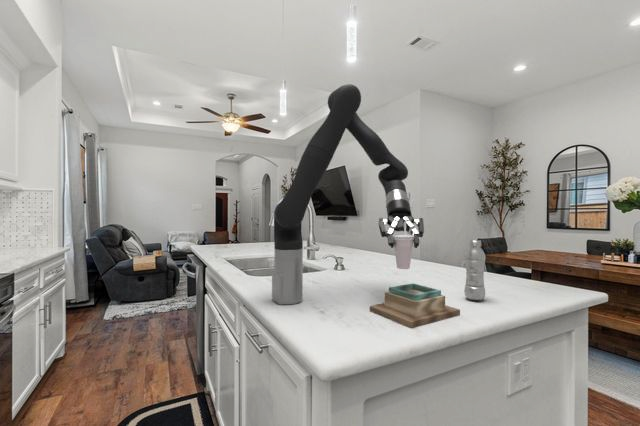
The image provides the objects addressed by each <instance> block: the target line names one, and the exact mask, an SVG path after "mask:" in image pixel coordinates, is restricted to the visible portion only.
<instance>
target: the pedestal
mask: <svg viewBox="0 0 640 426" xmlns="http://www.w3.org/2000/svg"><path fill="white" fill-rule="evenodd" d="M369 312H371V313H374V314H376V315H377V316H378V315H379V316H381V317H383V318H386V319H387V320H390V321H393V322H395V323H398V324H400V325H403V326H405V327H407V328H410V329H413V328H416V327H421V326H425V325H428V324H431V323H434V322H439V321H442V320H443V321H444V320H447V319H449V318H453V317H458V316H460V315H461V309H460V308H456V307H453V306H450V305H446V295H443V294H442V290H440V289H437V288H432V287H428V286H425V285H420V284H417V283H406V284H401V285H396V286H395V285H394V286H388V291H385V292H384V302H383V303H379V304H372V305H370V306H369Z"/></svg>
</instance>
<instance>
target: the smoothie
mask: <svg viewBox="0 0 640 426" xmlns="http://www.w3.org/2000/svg"><path fill="white" fill-rule="evenodd" d="M393 239H394V247H393V248H394V253H395V256H394V257H395V261H396V262H395V263H396V268H397V269H400V270H408V269H411V259H412V254H413V253H412V251H413V246H414V243H413V240H414V236H412V235H409V234H407V231H406V221H404V231H403V234H393Z"/></svg>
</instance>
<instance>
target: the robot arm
mask: <svg viewBox="0 0 640 426" xmlns="http://www.w3.org/2000/svg"><path fill="white" fill-rule="evenodd" d="M361 103H362V94H361V91H360V89H359V88H358V87H357V86H356V85H354V84H350V83H349V84H347V83H346V84H344V85H341V86H340V87H338V88H336V89H334V90H333V91H332V92H331V93H330V94H329V96H328V98H327V106H328V109H329V112H328V115H327V116H326V118H325V120H324V121H323V122H322V124H321V125H320V127H319V128H317V129H318V130H316V132H315V133H314V134H313V136H312V137H311V139H310V140H309V142H308V143H307V145H306V147H305V149H304V151H303V153H302V154H301V157H300V160H299V163H298V165H297V168H296V171H295V176H294V178H293V180H292V183H291V185H290V187H288V188H289V189H288V190H287V192H286V194H285V195H284V196H283V198H282V199H281V201H280V202H278V204H277V205H276V206H275V208H274V211H273V212H274V213H273V242H274V271H272V272H271V300H272V302H274V303H276V304H278V305H279V306H281V305H297V304H299V303H301V302H302V301H303V297H304V296H303V288H304V287H303V281H304V280H303V279H304V278H303V272H304V271H303V267H304V265H303V264H304V263H303V261H304V260H303V255H304V253H303V252H304V248H303V246H304V245H303V236H302V233H303V232H302V222H303V220H304V218H305V214H306V211H307V209H308V206H309V203H310V202H311V201H310V200H311V198H312V196H313V194H314V191H315V190H316V188H317V187H318V185H319V183H321V180H322V178H324V175H325V173H326V172H327V170H328V167H329V166H330V164H331V161H332V159H333V157H334V155H335V154H336V150H337V148H338V146H339V144H340V142H341V140H342V138H343V135H344V133H345V131H346V130H347V131H348V132H349V133H350V134H351V136H352V137H354V139H355V141H357V142H358V144H359V145H360V146H361V148H362V149H363V150H364V152H365V154H366V155H367V156H368V158H369V160H370V161H371V162H372V164H373V165H374V166H382V165H388V166H386V167H384V168H383V169H381V170H380V171H379V173H378V180H379V182H380V185H382V187H383V190H384V192H385V208H386V215H387V218H386V219H385V218H383V217H379V218H378V228H379V232H380V236H381V237H382V238H387V244H388V246H389V247H390V249H391V248H392V249H393V248H394V239H393V235H395V233H396V232H404V221H406V234H407V235H412V236H414V240H413V248H414V249H417V248H418V247H419V246H420V242H421V241H420V238H422V237H423V236H424V232H425V226H424V218H423V217H419V218H418V219H415V217H413V215H412V211H411V210H412V209H411V205H410V200H409V197H408V193H407V189H406V185H405V183H404V182H403V181H404V180H405V179H407V178H408V175H409V171H408V168H407V166H406V164H404V163H403V162H402V161H401V160H400V159H399V158H397V157H396V156H395V155H394V154H393V153H392V152H391V151H390V150H389V148H388V147H387V145H386V144H385V143H384V141H383V139H382V138H381V137H380V136H379V135H378V134H377V132H375V131H374V130H373V129H372V128H371V127H369V126H368V125H367V124H366V123H365V122H364V121H363V120H362V119H361V118H360V116H359V115H358V113H357V112H358V110H359V109H360V106H361ZM386 224H387V225H388V226H389V227H390V228H389V229H388V230H386ZM415 226H416V227H417V229H416V227H415Z"/></svg>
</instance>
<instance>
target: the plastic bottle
mask: <svg viewBox="0 0 640 426" xmlns="http://www.w3.org/2000/svg"><path fill="white" fill-rule="evenodd" d="M468 246H469V248H468V249H467V250H466V251H465V253H464V259H465V260H464V261H465V262H464V263H465V270H466V275H465V276H466V278H465V285H464V296H465V298H466V299H468V300H472V301H484V300H485V298H486V294H487V293H486V287H485V279H484V278H485V277H484V275H485V274H484V272H485V264H486V253H485V252H484V250H483V248H481V247H482V240H481V239H469V243H468Z"/></svg>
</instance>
